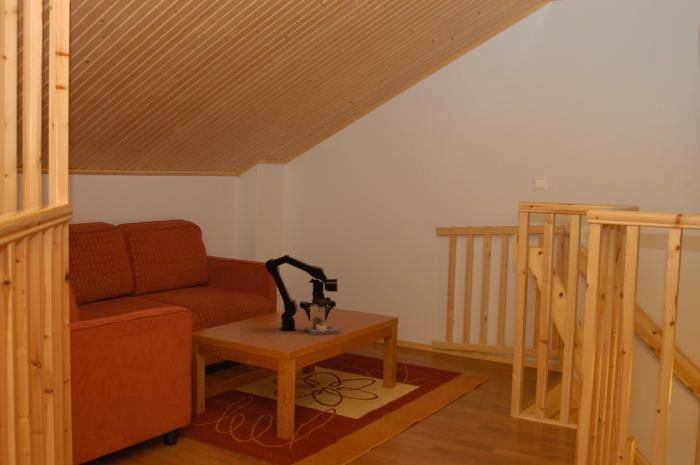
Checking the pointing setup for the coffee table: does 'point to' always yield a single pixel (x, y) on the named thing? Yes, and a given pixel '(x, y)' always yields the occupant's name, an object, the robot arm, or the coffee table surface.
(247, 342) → the coffee table surface
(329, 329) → the board
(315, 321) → the wooden knobbed box
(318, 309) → the figurine
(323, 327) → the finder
